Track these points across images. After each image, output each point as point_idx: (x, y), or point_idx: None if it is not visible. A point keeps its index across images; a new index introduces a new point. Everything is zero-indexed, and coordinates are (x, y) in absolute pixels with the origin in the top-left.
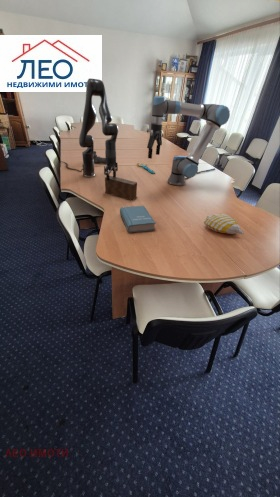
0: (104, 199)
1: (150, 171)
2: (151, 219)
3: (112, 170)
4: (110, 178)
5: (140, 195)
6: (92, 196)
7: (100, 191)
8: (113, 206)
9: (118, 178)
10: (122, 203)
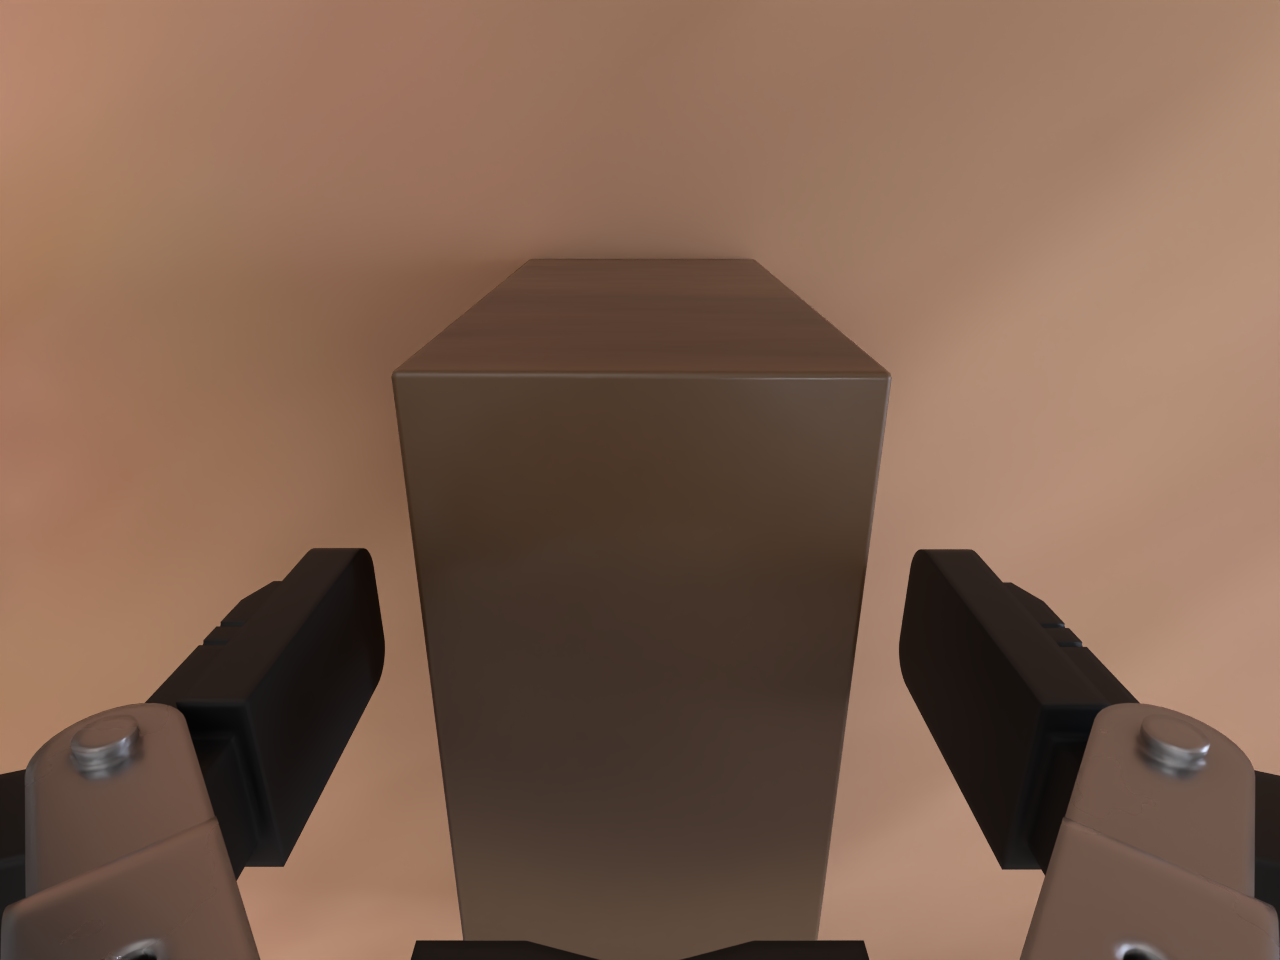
0: (203, 477)
1: None
2: None
3: (1074, 793)
4: (491, 677)
5: (871, 909)
6: (80, 94)
7: (529, 54)
8: None
9: (734, 908)
10: (337, 832)
